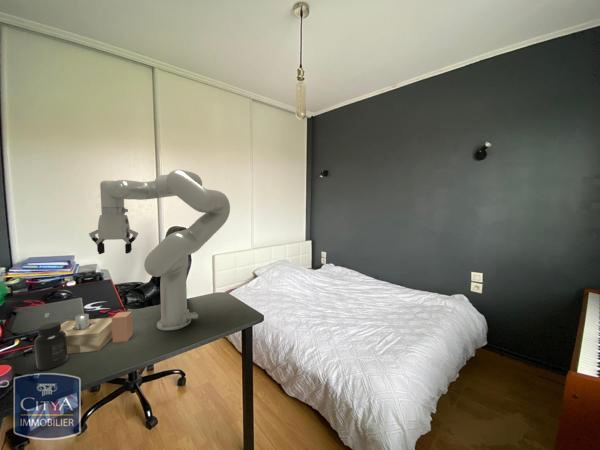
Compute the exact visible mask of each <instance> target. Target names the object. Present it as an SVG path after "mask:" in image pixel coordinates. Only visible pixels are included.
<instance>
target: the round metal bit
mask: <svg viewBox="0 0 600 450" xmlns="http://www.w3.org/2000/svg"><path fill="white" fill-rule="evenodd" d="M89 315H90V314H89V313H81V314H77V315H75V317H74V318H75V319H74V320H75V322H76V330H83V329H86V328H89V319H90V316H89Z"/></svg>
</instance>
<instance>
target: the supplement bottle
mask: <svg viewBox="0 0 600 450" xmlns="http://www.w3.org/2000/svg"><path fill="white" fill-rule="evenodd" d="M61 324H62V323H61V322H50V323H46V324H43V325H41V326H39V327H38V329H37V331H38V332H37V334H38V336H37V337H36V338H35V340H34V342H33V343H34V352H35V354H34V355H35V363H36V369H38V370H40V371H46V370H51V369H55V368H58V367H59V366H61V365H63V364H65V362H66V361H67V360H68V359H69V358H68V357H69V354H68V353H67V341H66V333H65V332H64V331H62V330H61Z"/></svg>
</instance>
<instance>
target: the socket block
mask: <svg viewBox="0 0 600 450" xmlns="http://www.w3.org/2000/svg"><path fill="white" fill-rule="evenodd" d="M60 324H61V330H62V331H64V332H65V333H66V341H67V353H68V355H69V354H80V353H90V352H99V351H101V350H102V349H103V348H104V347H105V346H106V345H107V344H108V343H109V342H110V341H111V340H113V337H112V317H101V318H91V319H90V318H89V328H86V329H83V330H76V322H75V319H74V320H65V321H64V322H63V323H60Z"/></svg>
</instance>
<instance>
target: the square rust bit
mask: <svg viewBox="0 0 600 450" xmlns="http://www.w3.org/2000/svg"><path fill="white" fill-rule="evenodd" d="M111 318H112V337H113V338H112V343H114V344H115V343H122V342H123V343H124V342H128V341H129V340H130V339H131V337H132V336H133V333H134V332H133V312H132V311H119V312H117V313H116V314H115V315H113V316H112V317H111Z"/></svg>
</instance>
